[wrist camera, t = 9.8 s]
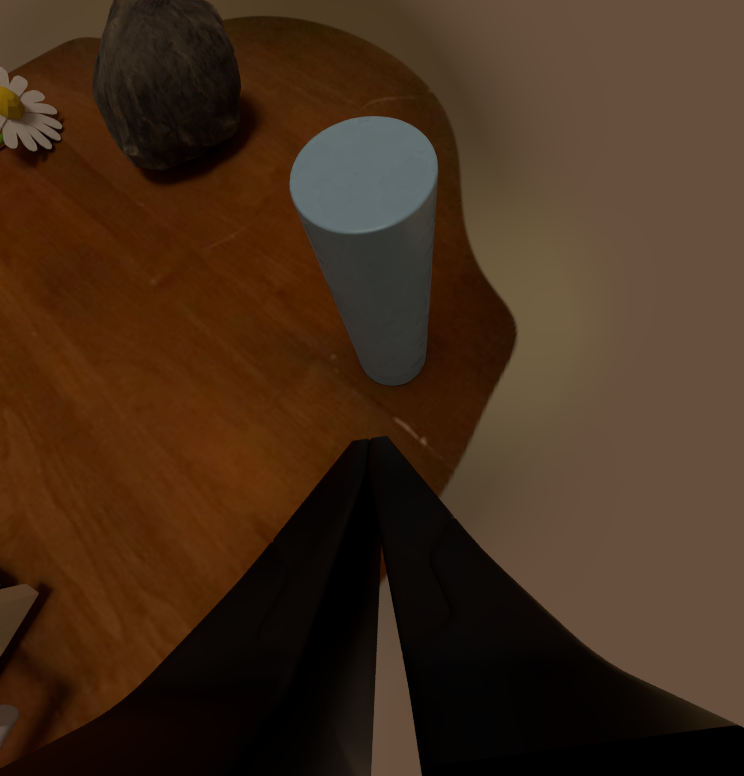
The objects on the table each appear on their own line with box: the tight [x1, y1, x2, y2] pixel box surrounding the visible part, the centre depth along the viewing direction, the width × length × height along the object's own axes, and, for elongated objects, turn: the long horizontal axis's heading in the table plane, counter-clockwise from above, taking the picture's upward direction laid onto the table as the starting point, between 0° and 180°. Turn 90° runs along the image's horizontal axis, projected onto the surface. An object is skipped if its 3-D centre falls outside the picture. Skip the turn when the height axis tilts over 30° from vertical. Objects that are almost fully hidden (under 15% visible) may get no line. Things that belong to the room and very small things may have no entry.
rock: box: [93, 0, 241, 171], centre depth 28 cm, size 10×11×10 cm
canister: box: [290, 116, 438, 386], centre depth 17 cm, size 4×4×14 cm
